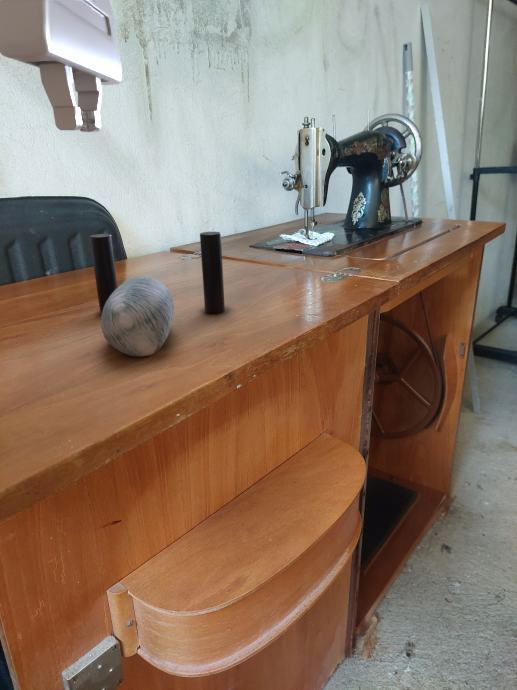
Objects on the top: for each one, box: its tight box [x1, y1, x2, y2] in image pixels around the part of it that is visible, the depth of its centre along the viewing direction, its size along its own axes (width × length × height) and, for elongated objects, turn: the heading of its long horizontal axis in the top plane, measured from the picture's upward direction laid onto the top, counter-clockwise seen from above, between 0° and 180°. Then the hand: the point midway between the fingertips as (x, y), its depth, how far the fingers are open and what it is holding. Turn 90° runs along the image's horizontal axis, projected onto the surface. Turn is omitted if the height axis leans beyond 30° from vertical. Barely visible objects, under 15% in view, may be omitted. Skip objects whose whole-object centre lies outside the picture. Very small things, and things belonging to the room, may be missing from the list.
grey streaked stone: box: [100, 276, 175, 358], centre depth 65 cm, size 14×10×10 cm
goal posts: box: [89, 231, 226, 316], centre depth 77 cm, size 19×3×12 cm, turn 88°
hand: (80, 131), depth 46 cm, fingers open, 4 cm apart
